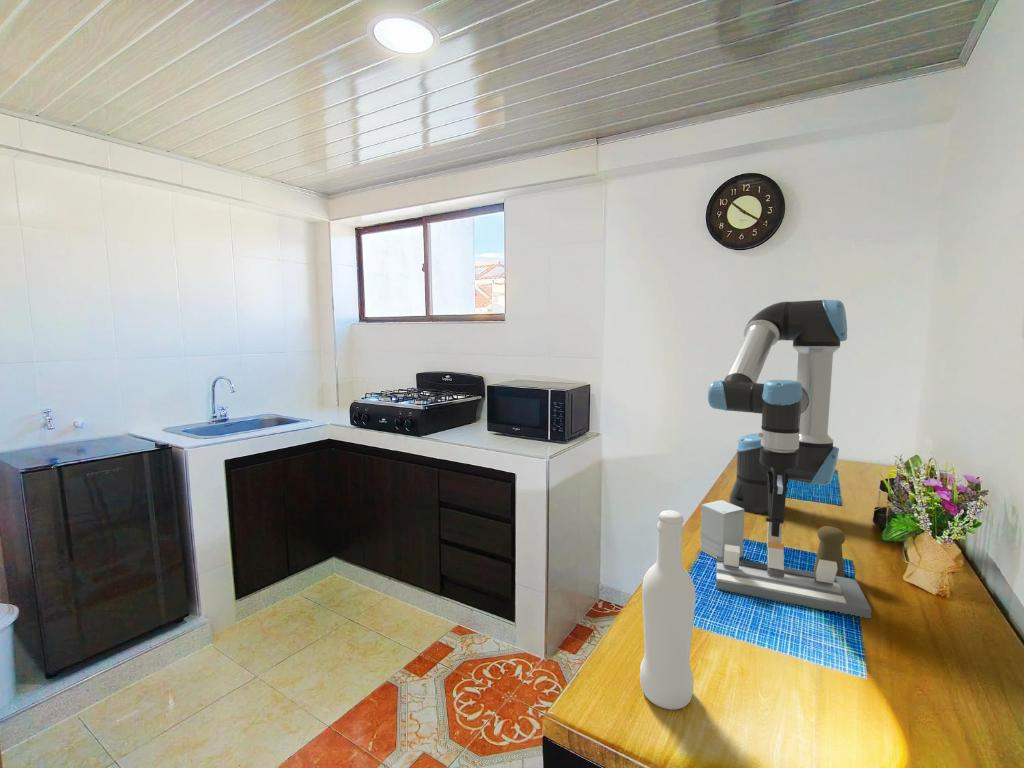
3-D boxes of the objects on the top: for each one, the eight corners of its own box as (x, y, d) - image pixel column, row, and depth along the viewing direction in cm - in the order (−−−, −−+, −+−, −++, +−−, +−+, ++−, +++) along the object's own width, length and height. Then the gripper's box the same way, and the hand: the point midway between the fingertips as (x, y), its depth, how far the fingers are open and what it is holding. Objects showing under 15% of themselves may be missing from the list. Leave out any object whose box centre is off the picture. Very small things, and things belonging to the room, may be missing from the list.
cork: (849, 581, 105) (853, 535, 104) (820, 579, 107) (823, 533, 105) (836, 567, 111) (840, 524, 110) (808, 565, 112) (811, 522, 111)
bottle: (632, 675, 78) (635, 504, 74) (679, 671, 79) (684, 501, 75) (650, 715, 70) (654, 525, 66) (702, 710, 71) (709, 522, 67)
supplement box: (743, 557, 117) (746, 508, 116) (721, 563, 114) (723, 513, 113) (720, 544, 124) (722, 499, 122) (699, 550, 121) (700, 503, 120)
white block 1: (723, 561, 109) (724, 544, 105) (738, 564, 107) (740, 546, 104) (723, 567, 107) (724, 550, 104) (738, 570, 106) (740, 552, 102)
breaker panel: (716, 563, 114) (717, 553, 114) (854, 587, 103) (855, 577, 102) (716, 588, 103) (716, 578, 103) (870, 619, 92) (871, 607, 92)
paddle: (767, 574, 105) (767, 542, 107) (783, 576, 103) (783, 544, 106) (767, 573, 103) (767, 541, 105) (784, 576, 102) (784, 544, 104)
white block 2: (814, 577, 101) (818, 559, 97) (831, 580, 100) (836, 562, 96) (814, 584, 100) (819, 565, 96) (832, 587, 99) (838, 568, 95)
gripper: (758, 440, 113) (753, 533, 116) (762, 454, 101) (757, 556, 104) (794, 443, 110) (788, 538, 113) (802, 457, 98) (796, 563, 101)
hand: (773, 547), depth 108 cm, fingers closed
